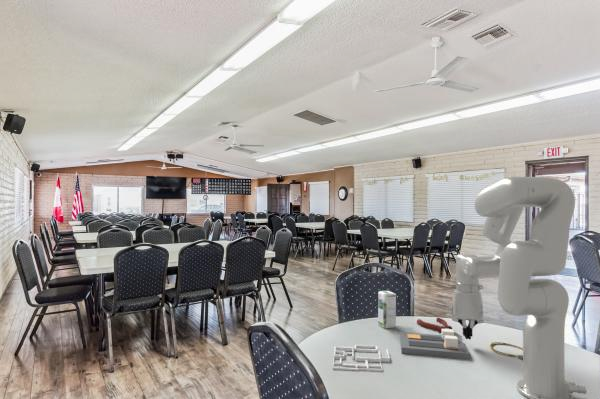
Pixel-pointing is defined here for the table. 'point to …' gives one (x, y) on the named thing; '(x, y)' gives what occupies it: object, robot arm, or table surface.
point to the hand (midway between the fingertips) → (467, 337)
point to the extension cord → (506, 353)
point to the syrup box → (386, 309)
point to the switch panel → (431, 346)
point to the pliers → (436, 326)
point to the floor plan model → (359, 358)
